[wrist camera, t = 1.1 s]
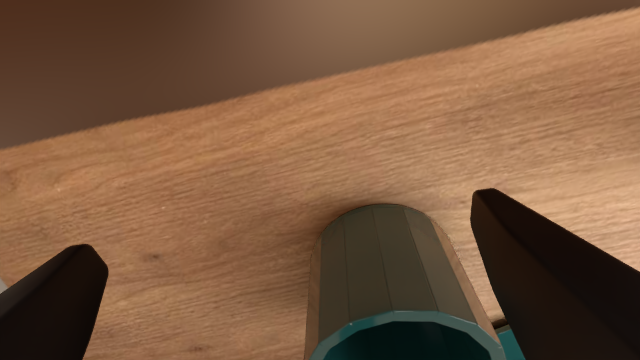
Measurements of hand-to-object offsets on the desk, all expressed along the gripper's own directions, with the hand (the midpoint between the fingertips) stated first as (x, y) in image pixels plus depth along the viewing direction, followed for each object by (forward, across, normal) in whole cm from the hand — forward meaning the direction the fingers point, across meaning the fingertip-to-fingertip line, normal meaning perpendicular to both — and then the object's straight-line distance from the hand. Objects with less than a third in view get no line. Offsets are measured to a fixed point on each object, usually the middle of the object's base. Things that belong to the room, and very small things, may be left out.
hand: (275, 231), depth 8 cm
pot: (+12, -3, +16) cm, 20 cm away
